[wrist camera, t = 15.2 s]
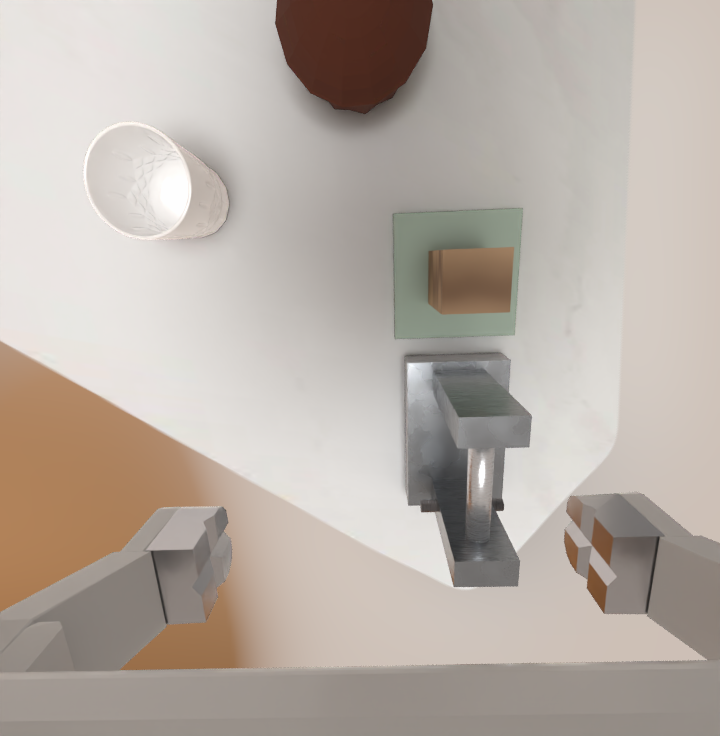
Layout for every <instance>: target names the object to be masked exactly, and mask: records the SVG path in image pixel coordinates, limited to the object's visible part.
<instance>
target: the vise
mask: <svg viewBox="0 0 720 736" xmlns="http://www.w3.org/2000/svg"><path fill="white" fill-rule="evenodd" d="M510 363H511V360H510V359H509V358H507V357H506V356H504V355H503V354H502V353H483V354H450V355H418V356H405V433H406V493H407V500H408V506H413V505H420V507H421V512H435V514H436V518H437V522H438V526H439V530H440V534H441V538H442V542H443V546H444V550H445V554H446V558H447V562H448V566H449V570H450V574H451V578H452V582H453V586H454V587H486V586H487V587H488V586H489V587H492V586H493V587H496V586H518V579H519V566H520V560H519V558H518V556H517V554H516V552H515V550H514V548H513V546H512V544H511V542H510V539H509V537H508V535H507V533H506V531H505V529H504V527H503V525H502V523H501V521H500V519H499V517H498V515H497V513H496V511H503V510H504V503H503V500H502V488H503V472H504V456H505V448H519V447H529V444H530V432H531V419H532V415H531V414H530V413H529V412H528V411H527V410H526V409H525V408H524V407H523V406H522V405H521V404H520V403H519V402H517V401H516V400H515V399H514V398H513V397H512V396H511V395H510V394H509V378H510Z"/></svg>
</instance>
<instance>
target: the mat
mask: <svg viewBox="0 0 720 736" xmlns="http://www.w3.org/2000/svg"><path fill="white" fill-rule="evenodd" d="M522 214H523V208H513V209H490V210H467V211H444V212H421V213H398V214H393V236H394V303H395V339H412V338H443V337H474V336H505V335H515V321H516V306H517V291H518V275H519V260H520V245H521V230H522ZM500 247H514V257H513V273H512V289H511V305H510V312H507V313H477V314H447V315H442V314H440V313H439V312H438V311H437V310H436V309H434V308H433V307H432V306H431V305H429V304H428V257H429V251H435V250H448V249H474V248H500Z"/></svg>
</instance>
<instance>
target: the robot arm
mask: <svg viewBox="0 0 720 736" xmlns="http://www.w3.org/2000/svg"><path fill="white" fill-rule="evenodd" d="M566 512H567V514H568V515H569V516H570V518H571V519H572V521H571V522H570V523H569V525H568V526H567V527H566V528H565V535H564V543H565V548H566V554H567V556H568V559H569V561H570V564H571V565H572V567H573V568H574V570H575V571H576V573H578V574H580V575H581V576H583V577H585V578H586V579H588V581H587V589H588V591H589V592H590V593H591V595H592V597H593V598H594V600H595V601H596V602H597V604H598V605H599V607H600V608H601V610H602V611H603V613H604V614H648V615H647V616H648V617H649V618H650V619H652V620H653V621H655V622H656V623H657V624H659V625H660V626H662V627H663V628H664V629H666V630H667V631H668V632H670V633H671V634H673V635H674V636H675V637H677V638H678V639H680V640H681V641H682V642H684V643H685V644H686V645H688V646H689V647H691V648H692V649H693V650H695V651H696V652H698V653H699V654H700V655H702V656H703V657H705V658H706V659H707V660H698V661H696V660H695V661H637V662H636V661H635V662H580V663H579V662H577V663H576V662H574V663H520V664H519V663H515V664H460V665H458V664H457V665H411V666H410V665H409V666H408V665H406V666H351V667H293V668H292V667H291V668H237V669H236V668H231V669H175V670H174V669H171V670H120V669H121V668H122V667H123V666H124V665H125V664H126V663H127V662H128V661H129V660H131V659H132V658H133V657H134V656H135V655H136V654H137V653H138V652H139V651H140V650H141V649H142V648H143V647H145V646H146V645H147V644H148V643H149V642H150V641H151V640H152V639H154V638H155V637H156V636H157V635H158V634H159V633H160V632H161V631H162V630H163V629H164V628H166V624H184V623H203V622H206V621H207V619H208V617H209V615H210V613H211V611H212V608H213V606H214V604H215V602H216V600H217V598H218V595H217V587H218V586H220V585H221V584H222V583H223V582H225V580H226V578H227V576H228V573H229V570H230V566H231V560H232V544H231V538H230V537H228V535H227V534H226V533H225V532H224V529H225V528H226V526H227V524H228V518H227V513H226V510H225V509H224V508H223V507H167V508H160V509H157V511H156V512H155V513H154V514H153V515H152V516H151V517H150V518H149V519H148V521H147V522H146V523H145V524H144V525H143V526H142V528H141V529H140V530H139V531H138V532H137V533H136V534H135V535H134V537H133V538H132V539H131V540H130V541H129V542H128V543H127V545H126V546H125V547H124V548H123V549H122V550H121V551H120V552H113V553H111V554H109V555H107V556H105V557H103V558H101V559H100V560H98V561H96V562H94V563H92V564H90V565H89V566H86V567H85V568H83V569H81V570H79V571H77V572H75V573H73V574H71V575H69V576H67V577H66V578H64V579H62V580H60V581H58V582H56V583H54V584H52V585H50V586H49V587H47V588H45V589H43V590H41V591H39V592H37V593H36V594H34V595H32V596H30V597H28V598H26V599H24V600H22V601H20V602H19V603H17V604H15V605H13V606H11V607H9V608H8V609H5V610H3V611H2V612H0V736H720V543H718V542H716V541H713V540H711V539H708V538H706V537H703V536H693V535H692V534H691V533H689V532H688V531H687V530H686V529H684V528H683V527H682V526H681V525H680V524H679V523H677V522H676V521H675V520H674V519H673V518H671V517H670V516H669V515H668V514H667V513H665V512H664V511H663V510H662V509H661V508H659V507H658V506H657V505H656V504H655V503H653V502H652V501H651V500H650V499H649V498H647V497H646V496H645V495H644V494H641V493H638V492H628V493H614V494H599V495H581V496H570V497H569V499H568V502H567V510H566Z"/></svg>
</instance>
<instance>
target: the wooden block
mask: <svg viewBox="0 0 720 736" xmlns="http://www.w3.org/2000/svg"><path fill="white" fill-rule="evenodd" d="M513 257H514V247H500V248H474V249H448V250H435V251H429V257H428V304H429V305H431V306H432V307H433V308H434V309H436V310H437V311H438V312H439V313H440V314H442V315H447V314H477V313H507V312H510V305H511V289H512V273H513Z"/></svg>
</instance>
